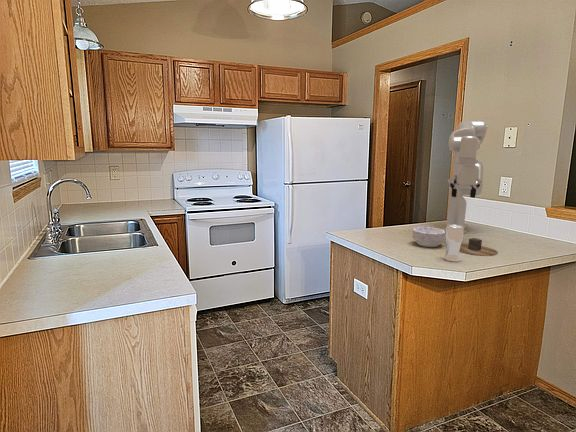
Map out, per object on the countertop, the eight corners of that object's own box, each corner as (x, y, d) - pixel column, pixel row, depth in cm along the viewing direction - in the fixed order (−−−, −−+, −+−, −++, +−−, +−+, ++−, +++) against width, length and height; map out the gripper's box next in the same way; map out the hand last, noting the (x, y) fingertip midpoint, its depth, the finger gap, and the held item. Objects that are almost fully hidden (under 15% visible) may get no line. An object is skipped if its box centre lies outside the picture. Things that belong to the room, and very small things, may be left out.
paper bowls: (430, 250, 182) (431, 234, 181) (405, 243, 195) (406, 228, 194) (450, 246, 190) (452, 231, 189) (425, 240, 203) (426, 225, 202)
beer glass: (452, 262, 164) (456, 228, 161) (439, 258, 170) (443, 225, 167) (463, 260, 167) (467, 227, 164) (450, 256, 173) (454, 223, 170)
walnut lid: (470, 244, 199) (471, 233, 197) (507, 254, 181) (508, 242, 180) (442, 247, 189) (443, 236, 188) (478, 258, 172) (480, 246, 171)
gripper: (478, 162, 191) (475, 196, 194) (446, 161, 189) (442, 195, 191) (488, 162, 184) (484, 198, 186) (454, 161, 182) (450, 197, 184)
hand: (463, 197), depth 189 cm, fingers open, 9 cm apart
